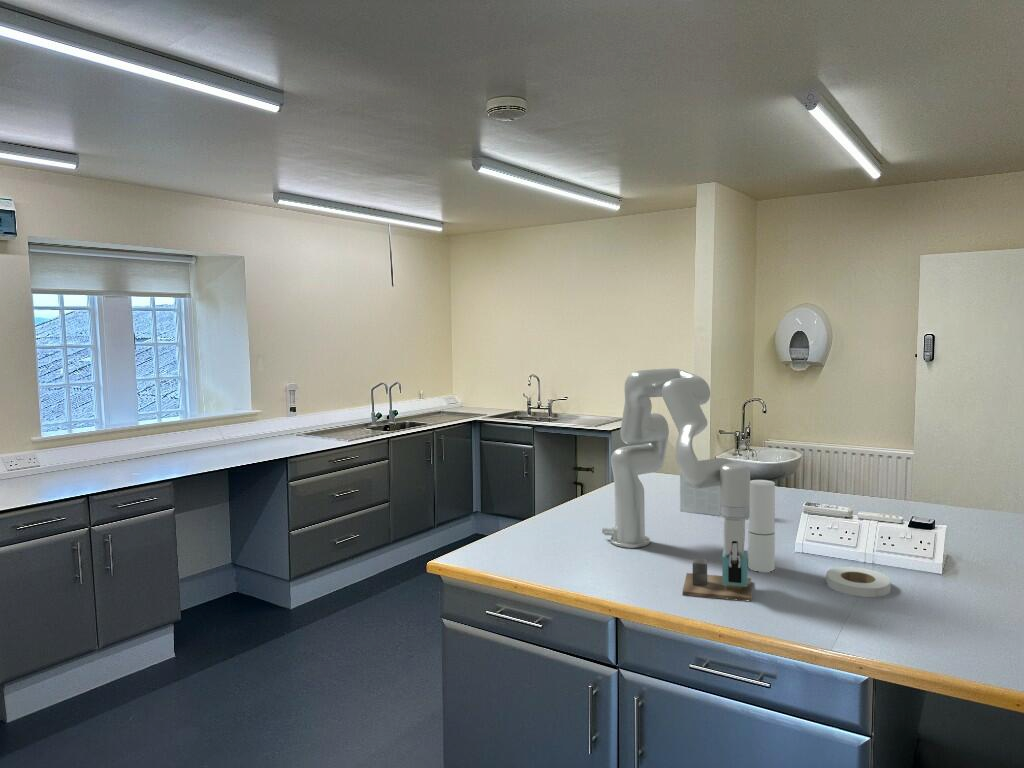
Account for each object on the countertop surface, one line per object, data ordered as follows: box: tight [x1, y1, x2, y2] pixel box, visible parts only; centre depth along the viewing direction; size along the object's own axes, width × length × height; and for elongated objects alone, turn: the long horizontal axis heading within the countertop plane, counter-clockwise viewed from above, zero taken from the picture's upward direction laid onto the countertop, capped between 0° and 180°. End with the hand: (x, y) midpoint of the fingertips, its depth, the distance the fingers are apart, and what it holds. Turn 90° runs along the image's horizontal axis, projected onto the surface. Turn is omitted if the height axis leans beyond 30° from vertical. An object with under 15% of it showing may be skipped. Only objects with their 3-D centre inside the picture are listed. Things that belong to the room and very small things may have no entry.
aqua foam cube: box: [721, 548, 748, 587], centre depth 184 cm, size 6×6×8 cm
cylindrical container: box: [747, 479, 776, 573], centre depth 199 cm, size 7×7×25 cm
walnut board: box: [682, 558, 752, 602], centre depth 186 cm, size 17×14×7 cm
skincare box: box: [679, 469, 721, 517], centre depth 259 cm, size 21×6×16 cm, turn 58°
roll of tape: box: [825, 566, 892, 598], centre depth 185 cm, size 16×15×3 cm
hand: (735, 577), depth 184 cm, fingers closed on aqua foam cube, 5 cm apart
